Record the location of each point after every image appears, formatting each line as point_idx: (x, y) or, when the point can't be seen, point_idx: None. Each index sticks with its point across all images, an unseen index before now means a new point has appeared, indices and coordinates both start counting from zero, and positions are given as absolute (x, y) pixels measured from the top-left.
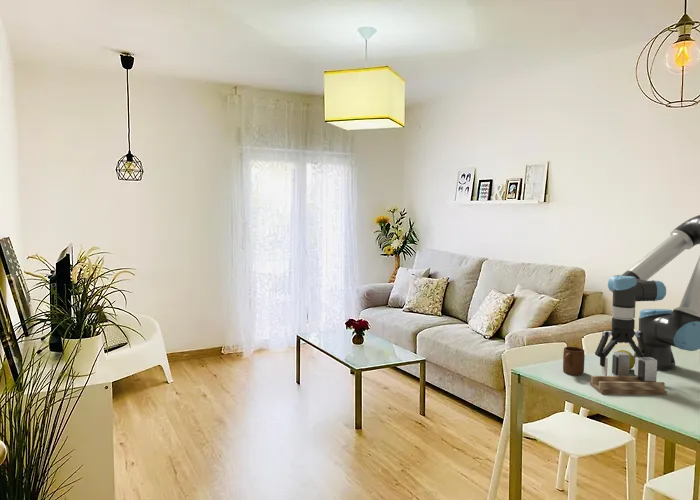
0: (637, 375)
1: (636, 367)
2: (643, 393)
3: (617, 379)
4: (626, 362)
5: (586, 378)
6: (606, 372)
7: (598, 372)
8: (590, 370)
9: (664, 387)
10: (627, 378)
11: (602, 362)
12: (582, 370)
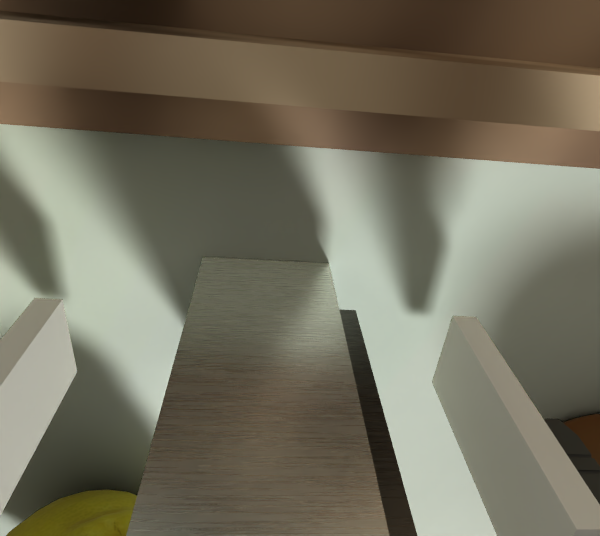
0: (63, 318)
1: (25, 417)
2: None
3: (532, 67)
4: (212, 450)
5: (592, 344)
6: (479, 345)
7: None
8: None
9: None
10: (370, 51)
11: (593, 476)
12: None
